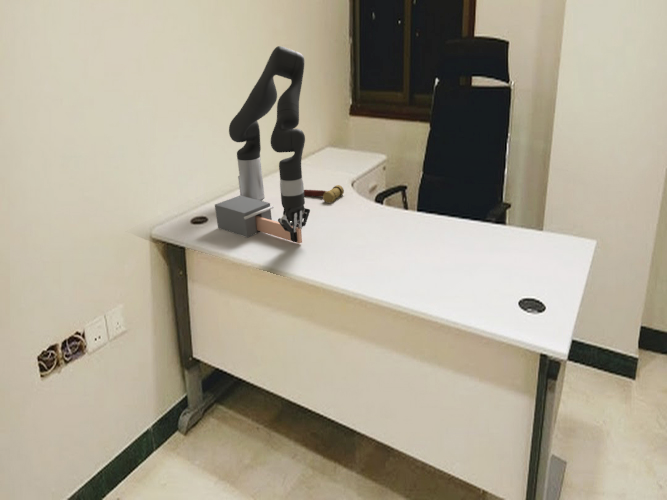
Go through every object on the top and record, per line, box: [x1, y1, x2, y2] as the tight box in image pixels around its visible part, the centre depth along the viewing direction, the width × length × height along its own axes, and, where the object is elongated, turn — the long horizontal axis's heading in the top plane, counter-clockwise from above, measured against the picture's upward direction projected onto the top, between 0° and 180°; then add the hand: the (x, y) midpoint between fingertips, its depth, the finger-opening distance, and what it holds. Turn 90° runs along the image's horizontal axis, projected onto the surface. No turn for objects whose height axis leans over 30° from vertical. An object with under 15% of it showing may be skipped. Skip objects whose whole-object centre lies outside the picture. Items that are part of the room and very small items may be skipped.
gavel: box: [304, 184, 345, 204], centre depth 232 cm, size 21×5×10 cm
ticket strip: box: [255, 215, 303, 244], centre depth 193 cm, size 23×1×5 cm, turn 50°
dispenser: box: [214, 195, 274, 238], centre depth 202 cm, size 17×13×9 cm
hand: (296, 240), depth 188 cm, fingers closed
